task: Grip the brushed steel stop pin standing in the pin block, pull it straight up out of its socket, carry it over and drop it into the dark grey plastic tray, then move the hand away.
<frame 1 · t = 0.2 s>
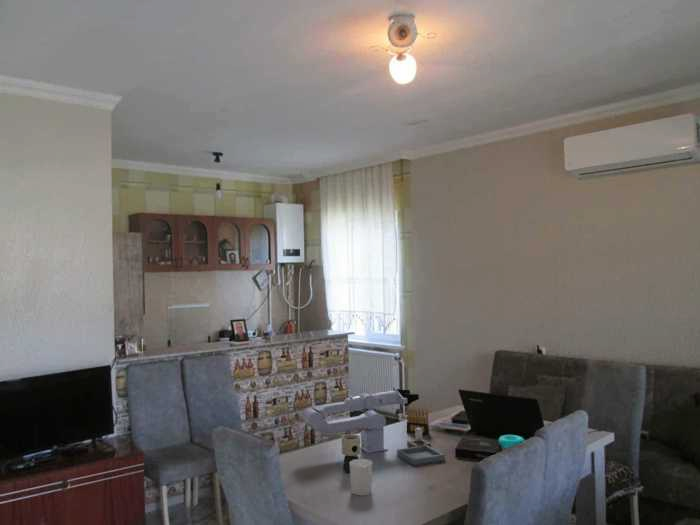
hand: (414, 394, 245), 21 cm above the table, tool horizontal, fingers open, 7 cm apart
tray: (420, 458, 224), on the table
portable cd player: (479, 454, 229), on the table
white cup: (361, 492, 190), on the table
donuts: (512, 463, 216), on the table
ammunition clip: (417, 434, 259), on the table
pin block: (419, 447, 239), on the table
character mug: (351, 471, 211), on the table
steel pin: (418, 437, 239), in the pin block
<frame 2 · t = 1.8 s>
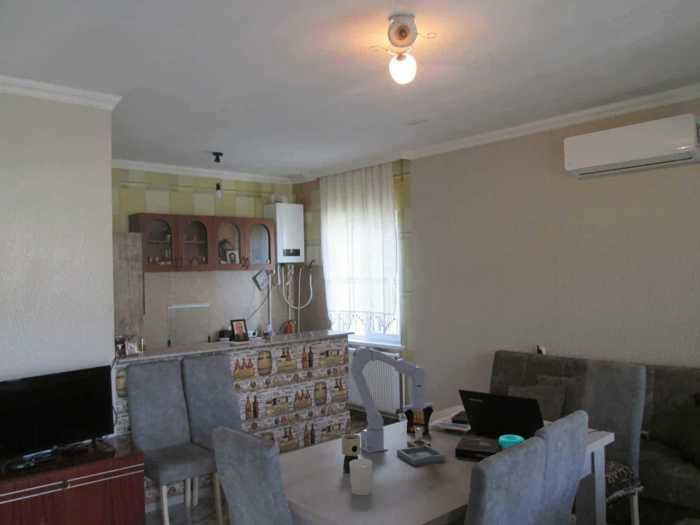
hand: (418, 426, 239), 9 cm above the table, tool pointing down, fingers open, 7 cm apart
nothing on the table moved.
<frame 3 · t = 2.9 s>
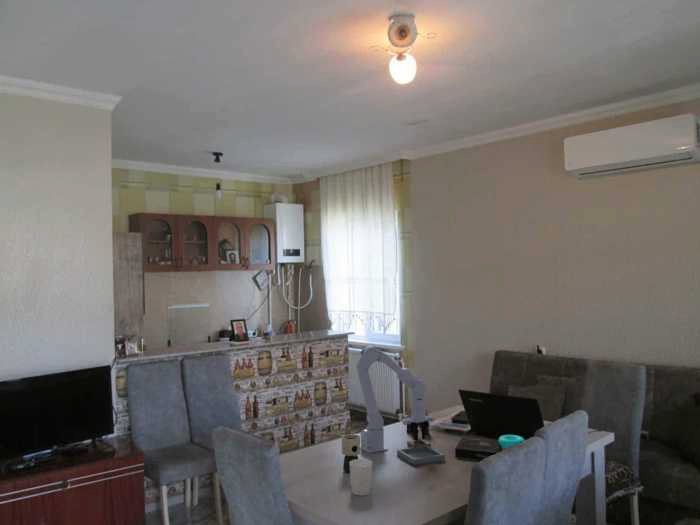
hand: (418, 439, 239), 3 cm above the table, tool pointing down, fingers closed on steel pin, 3 cm apart
steel pin: (418, 437, 239), in the pin block, touching gripper
everything else where it was.
when the fingers open (5 cm above the table, at t = 7.2 s): steel pin stays where it is, resting on tray.
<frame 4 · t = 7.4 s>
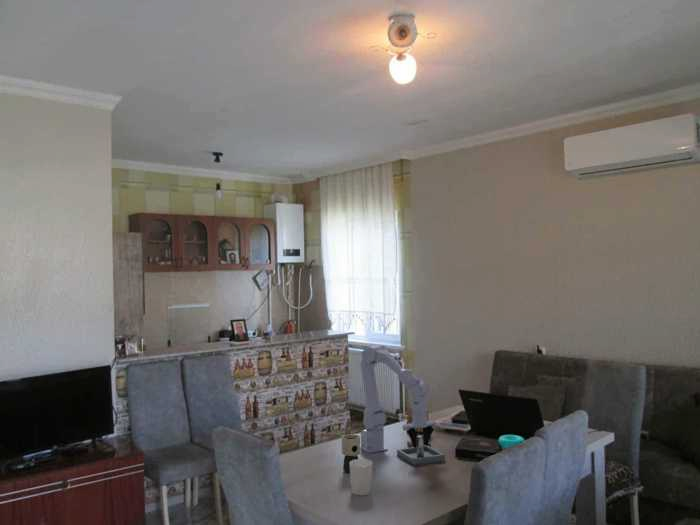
hand: (420, 446, 224), 5 cm above the table, tool pointing down, fingers open, 5 cm apart
steel pin: (420, 446, 224), in the tray, point 5 cm above the table
everything else where it was.
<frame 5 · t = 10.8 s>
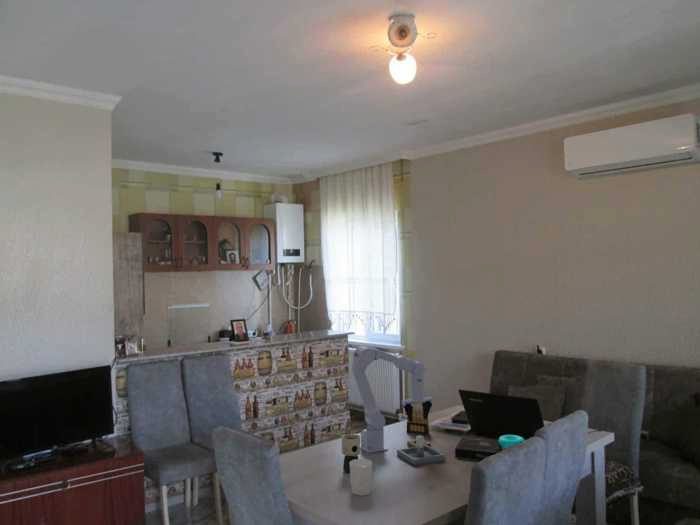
hand: (417, 420, 243), 10 cm above the table, tool pointing down, fingers open, 7 cm apart
nothing on the table moved.
at the end: steel pin inside the target area on the tray (0.2 cm from its centre), point 4.8 cm above the tray's base; the gripper is holding nothing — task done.
